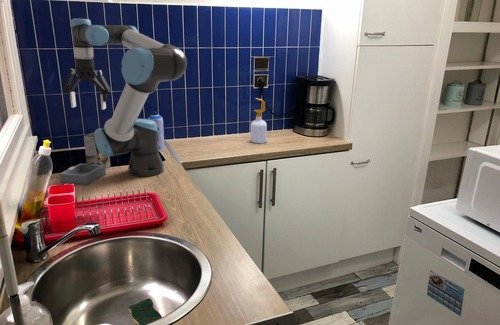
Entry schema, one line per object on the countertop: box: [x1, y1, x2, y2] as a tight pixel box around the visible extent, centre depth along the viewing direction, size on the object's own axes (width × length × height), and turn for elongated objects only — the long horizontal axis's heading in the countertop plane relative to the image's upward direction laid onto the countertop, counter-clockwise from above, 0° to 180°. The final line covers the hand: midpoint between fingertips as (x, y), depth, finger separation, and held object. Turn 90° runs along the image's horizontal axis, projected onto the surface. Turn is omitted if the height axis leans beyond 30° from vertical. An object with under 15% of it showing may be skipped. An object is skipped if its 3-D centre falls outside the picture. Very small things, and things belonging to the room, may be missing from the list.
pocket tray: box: [59, 162, 107, 186], centre depth 171 cm, size 12×14×4 cm
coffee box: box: [83, 131, 111, 169], centre depth 181 cm, size 9×6×16 cm
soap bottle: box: [250, 97, 268, 144], centre depth 228 cm, size 9×9×25 cm
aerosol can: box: [147, 111, 166, 153], centre depth 211 cm, size 8×8×20 cm
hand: (88, 108), depth 178 cm, fingers open, 13 cm apart
